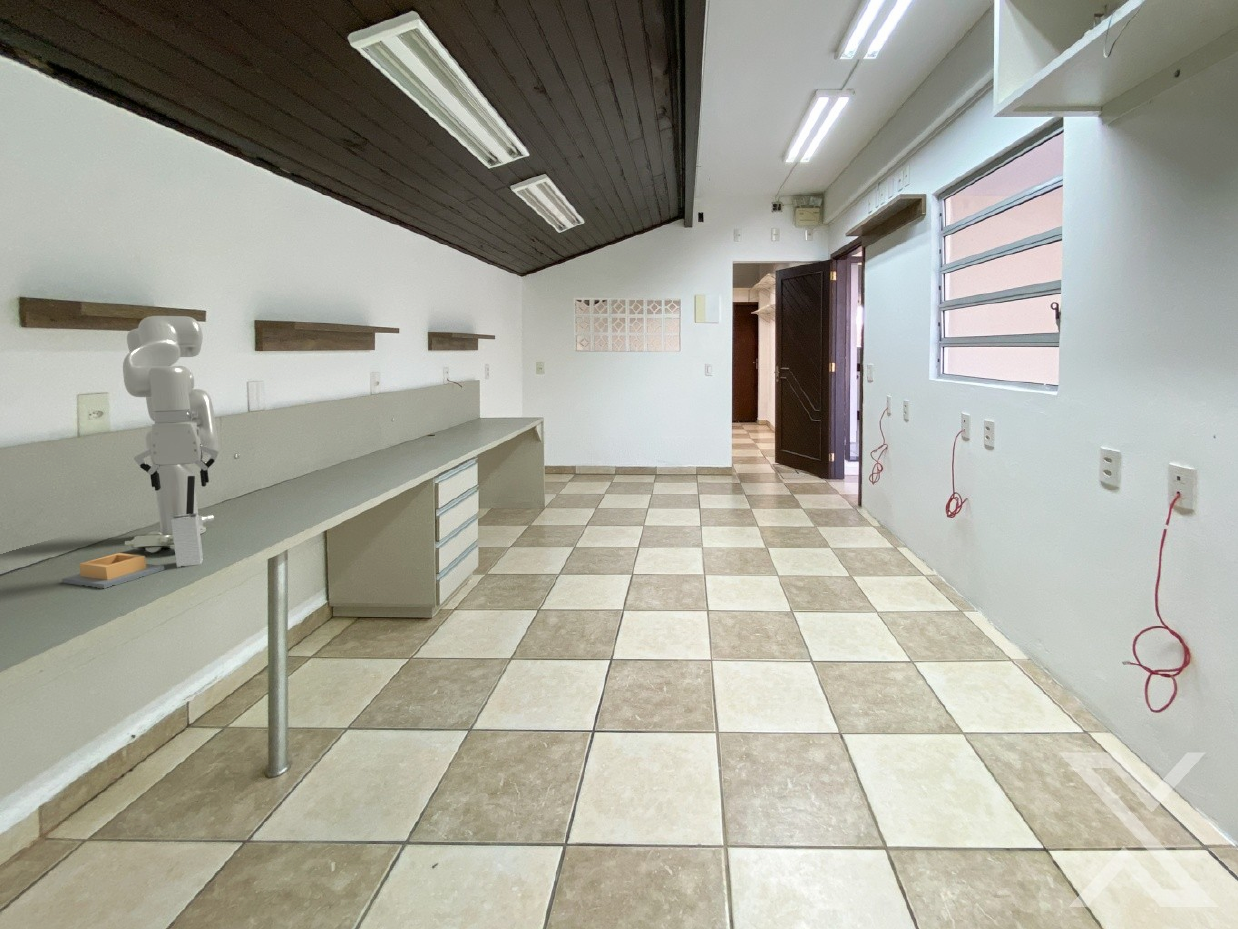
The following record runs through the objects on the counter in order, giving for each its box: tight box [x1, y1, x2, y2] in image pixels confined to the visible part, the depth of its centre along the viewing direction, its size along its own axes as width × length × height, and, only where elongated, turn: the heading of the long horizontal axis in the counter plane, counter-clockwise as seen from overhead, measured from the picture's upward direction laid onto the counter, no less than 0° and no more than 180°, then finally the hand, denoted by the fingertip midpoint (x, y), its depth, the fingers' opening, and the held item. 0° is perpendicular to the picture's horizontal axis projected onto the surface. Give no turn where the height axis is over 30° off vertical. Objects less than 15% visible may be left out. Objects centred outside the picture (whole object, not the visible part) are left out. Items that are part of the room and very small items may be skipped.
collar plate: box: [61, 552, 165, 590], centre depth 160 cm, size 14×14×4 cm
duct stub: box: [171, 512, 204, 568], centre depth 168 cm, size 5×5×12 cm
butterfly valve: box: [124, 475, 196, 553], centre depth 181 cm, size 9×20×17 cm
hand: (181, 487), depth 166 cm, fingers open, 9 cm apart
